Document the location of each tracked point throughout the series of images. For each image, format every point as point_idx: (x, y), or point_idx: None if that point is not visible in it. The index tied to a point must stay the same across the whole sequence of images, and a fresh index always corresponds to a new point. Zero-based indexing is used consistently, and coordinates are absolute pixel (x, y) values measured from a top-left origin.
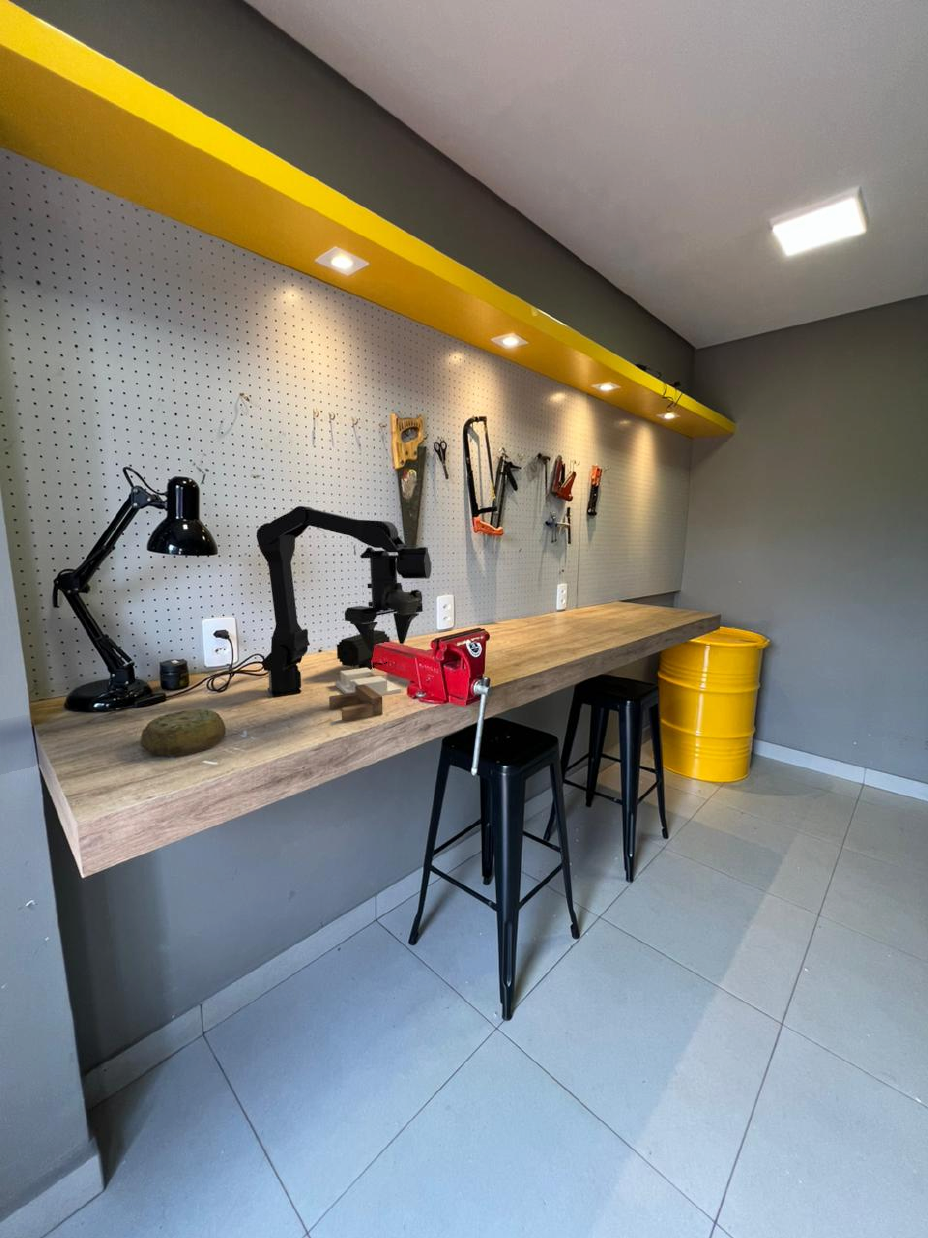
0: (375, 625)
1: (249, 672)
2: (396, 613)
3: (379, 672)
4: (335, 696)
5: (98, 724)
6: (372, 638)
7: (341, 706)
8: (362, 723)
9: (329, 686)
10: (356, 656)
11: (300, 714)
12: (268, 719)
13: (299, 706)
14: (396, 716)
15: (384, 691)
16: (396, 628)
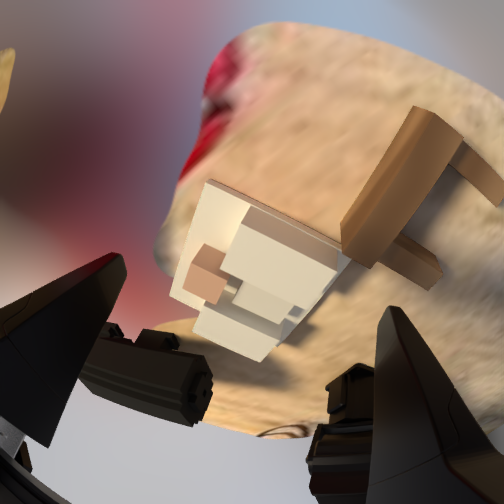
0: (485, 489)
1: (300, 435)
2: (32, 438)
3: (197, 286)
4: (423, 278)
5: (500, 413)
6: (437, 384)
7: (418, 245)
8: (484, 127)
9: (290, 346)
10: (191, 372)
11: (471, 293)
12: (497, 318)
13: (430, 322)
14: (400, 58)
15: (260, 210)
16: (83, 362)
